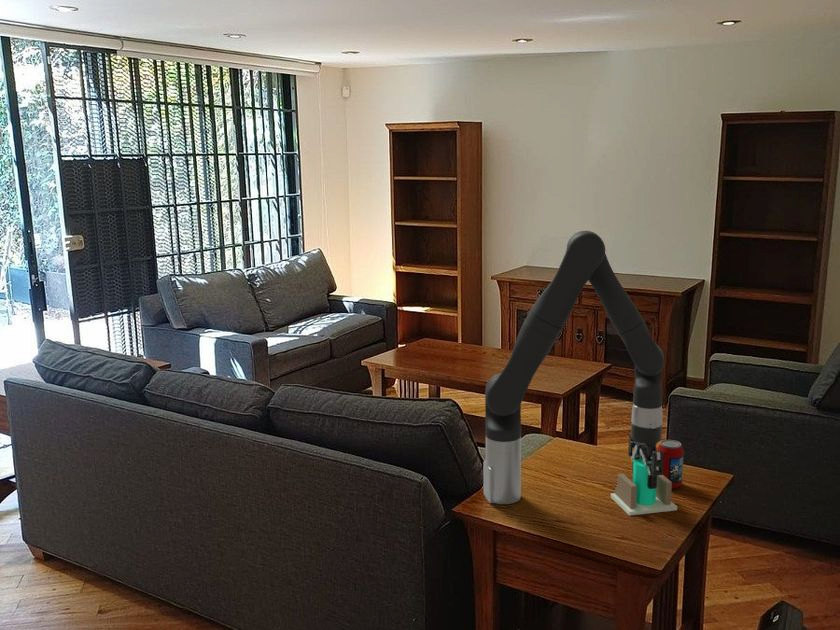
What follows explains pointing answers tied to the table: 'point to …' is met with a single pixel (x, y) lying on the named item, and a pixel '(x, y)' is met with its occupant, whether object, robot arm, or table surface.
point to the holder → (628, 494)
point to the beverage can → (672, 461)
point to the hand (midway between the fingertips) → (644, 481)
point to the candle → (642, 483)
